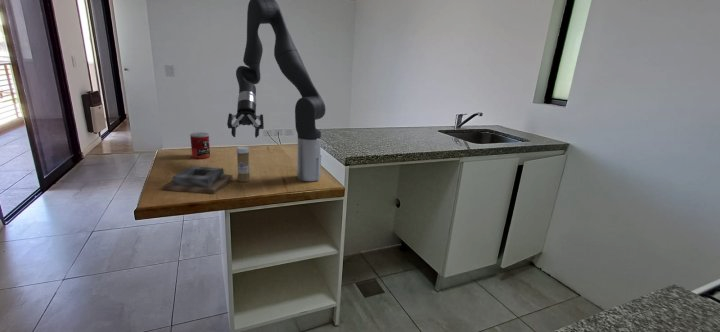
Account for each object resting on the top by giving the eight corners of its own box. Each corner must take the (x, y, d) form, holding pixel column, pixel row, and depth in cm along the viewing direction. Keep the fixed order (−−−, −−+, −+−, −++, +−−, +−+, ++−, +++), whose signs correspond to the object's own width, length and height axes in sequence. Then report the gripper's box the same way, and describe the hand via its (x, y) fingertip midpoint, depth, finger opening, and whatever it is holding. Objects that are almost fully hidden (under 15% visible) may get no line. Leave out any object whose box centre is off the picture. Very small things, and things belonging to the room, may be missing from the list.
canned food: (199, 160, 151) (197, 136, 148) (188, 157, 155) (186, 133, 152) (213, 157, 158) (212, 134, 154) (203, 153, 162) (201, 131, 158)
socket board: (232, 178, 132) (232, 167, 131) (214, 193, 117) (213, 181, 116) (187, 175, 132) (186, 164, 131) (163, 189, 117) (162, 177, 116)
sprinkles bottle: (237, 182, 129) (235, 148, 125) (238, 178, 133) (237, 145, 129) (249, 182, 130) (248, 148, 126) (250, 178, 134) (249, 145, 130)
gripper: (228, 98, 138) (225, 131, 131) (263, 99, 142) (262, 131, 134) (230, 109, 145) (228, 141, 138) (264, 110, 148) (263, 141, 141)
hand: (245, 136), depth 136 cm, fingers open, 8 cm apart
